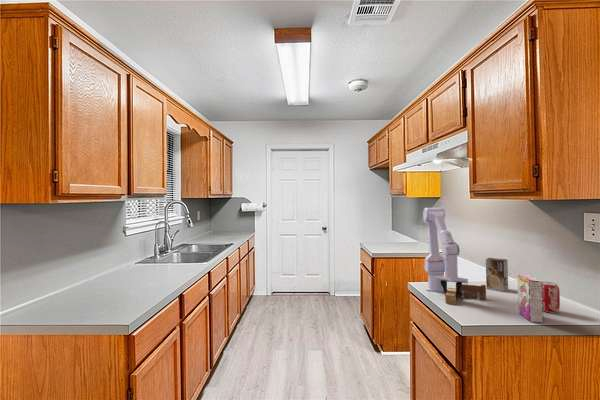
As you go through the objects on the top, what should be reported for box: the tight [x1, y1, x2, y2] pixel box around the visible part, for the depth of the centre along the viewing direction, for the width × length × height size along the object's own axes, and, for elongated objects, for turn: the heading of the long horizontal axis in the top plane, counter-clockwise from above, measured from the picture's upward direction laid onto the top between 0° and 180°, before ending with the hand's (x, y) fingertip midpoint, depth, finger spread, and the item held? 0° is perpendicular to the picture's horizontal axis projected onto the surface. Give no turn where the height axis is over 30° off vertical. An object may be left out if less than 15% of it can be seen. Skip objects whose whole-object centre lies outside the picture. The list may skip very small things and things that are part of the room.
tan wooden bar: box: [444, 287, 458, 305], centre depth 167 cm, size 14×4×4 cm, turn 151°
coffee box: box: [485, 257, 509, 293], centre depth 184 cm, size 9×6×16 cm
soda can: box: [542, 281, 561, 314], centre depth 148 cm, size 7×7×12 cm
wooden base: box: [458, 283, 487, 301], centre depth 169 cm, size 5×13×6 cm, turn 61°
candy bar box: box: [517, 274, 544, 324], centre depth 140 cm, size 11×5×16 cm, turn 168°
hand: (451, 296), depth 167 cm, fingers closed on tan wooden bar, 4 cm apart
